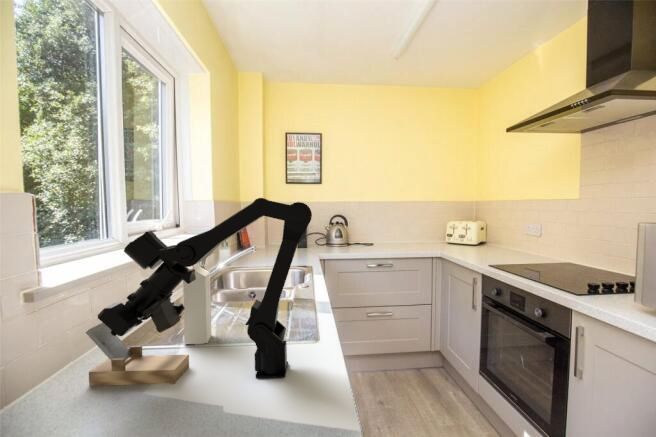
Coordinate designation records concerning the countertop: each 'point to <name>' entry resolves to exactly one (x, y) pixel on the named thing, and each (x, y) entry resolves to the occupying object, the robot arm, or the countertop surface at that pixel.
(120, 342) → the lever cap
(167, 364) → the body
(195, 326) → the milk
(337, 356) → the countertop surface
